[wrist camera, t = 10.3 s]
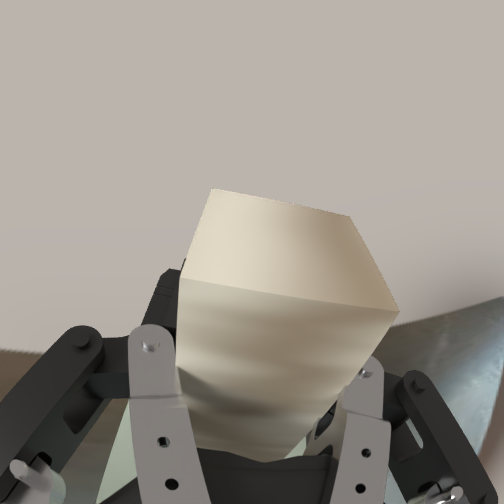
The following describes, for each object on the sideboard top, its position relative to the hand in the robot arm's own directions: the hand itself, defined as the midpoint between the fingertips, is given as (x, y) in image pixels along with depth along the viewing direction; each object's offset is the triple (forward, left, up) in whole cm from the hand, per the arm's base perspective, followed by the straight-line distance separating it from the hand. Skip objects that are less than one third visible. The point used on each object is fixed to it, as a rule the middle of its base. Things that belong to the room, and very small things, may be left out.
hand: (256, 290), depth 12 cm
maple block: (0, -3, -6) cm, 7 cm away
